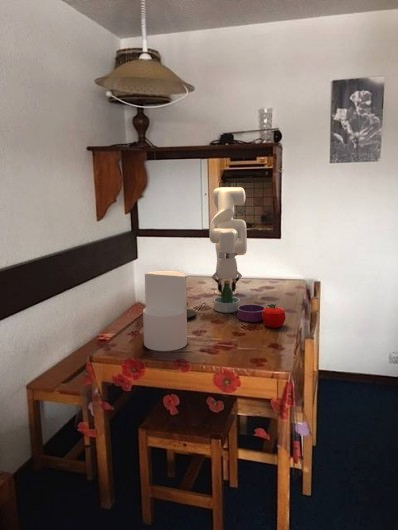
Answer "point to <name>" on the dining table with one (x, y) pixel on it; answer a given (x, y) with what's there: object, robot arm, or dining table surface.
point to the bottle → (227, 293)
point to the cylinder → (165, 310)
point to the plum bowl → (250, 312)
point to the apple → (273, 316)
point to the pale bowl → (226, 305)
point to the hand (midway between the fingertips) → (226, 290)
